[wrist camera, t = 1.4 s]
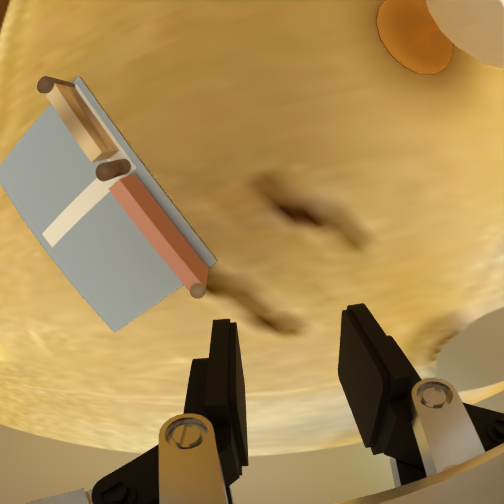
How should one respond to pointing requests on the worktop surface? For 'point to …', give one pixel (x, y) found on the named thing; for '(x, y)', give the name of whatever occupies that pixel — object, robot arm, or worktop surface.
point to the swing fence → (161, 233)
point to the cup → (442, 31)
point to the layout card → (91, 217)
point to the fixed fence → (84, 127)
